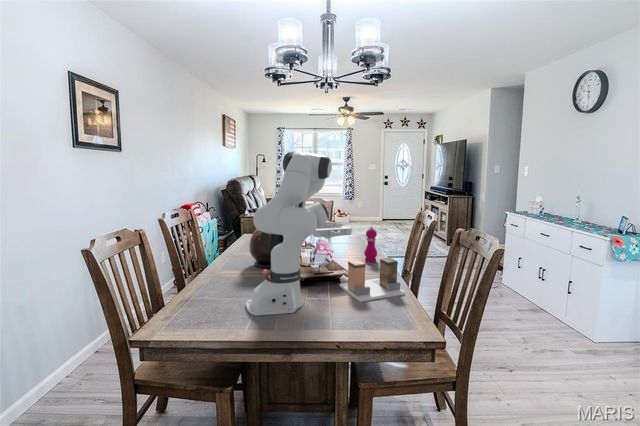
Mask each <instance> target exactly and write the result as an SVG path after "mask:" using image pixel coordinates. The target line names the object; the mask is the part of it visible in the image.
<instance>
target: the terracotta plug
mask: <svg viewBox="0 0 640 426" xmlns="http://www.w3.org/2000/svg"><path fill="white" fill-rule="evenodd" d="M347 266H348V268H347V279H348V280H347V283H348V288H349V289H350V290H352V291H353V292H356V288H360V287H365V280H366V263H365V262H363V261H361V260H360V259H357V260H356V259H355V260H348V261H347Z"/></svg>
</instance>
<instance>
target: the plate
mask: <svg viewBox="0 0 640 426" xmlns="http://www.w3.org/2000/svg"><path fill="white" fill-rule="evenodd" d="M379 284H380V277H379V278H373V279H372V278H371V279H365V287H360V288H356V292H353V291H352V290H350V289H349V288H348V282H342V283H339V287H340V289H342V290H343V291H345V292H346V293H347V294H349V295H350V296H352V297H353V298H354V299H355V300H357V301H358V302H359V303H360V302H366V301H367V302H368V301H373V300H379V299H385V298H391V297H398V296H403V295H406V291H405V290H403V289H401V282H400V281H397V282H394V283H387V287H386V288H384V287H383V286H381V285H379Z"/></svg>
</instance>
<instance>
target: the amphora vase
mask: <svg viewBox="0 0 640 426" xmlns="http://www.w3.org/2000/svg"><path fill="white" fill-rule="evenodd" d="M283 239H284V236H283V235H278V234H268V233H264V232H261V231H259V230H257V229H256V228H255V230H254V231H253V233H252V234H251V236H250V240H249V244H248V247H249V253H250V255H251V257H252V258H253V259H254V260H255V261H254V266H255V267H256V268H258V269H261V270H262V269H263V270H265V269H266V270H270V269H271V251H272V249H273V248H274V247H275V246H276V245H278V244H280V243H283Z"/></svg>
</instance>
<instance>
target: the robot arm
mask: <svg viewBox="0 0 640 426" xmlns="http://www.w3.org/2000/svg"><path fill="white" fill-rule="evenodd" d="M282 169H283V172H284V174H283V177H282V180H281V183H280V185H279V188H278V191H277V192H276V193H275V194H274V195H273V196H272V198H271V199H270V200H269V201H268V202H266V203H265V204H264V205H262V206H259V207H258V208H257V209H256V210H255V212H254V214H253V218H252V221H253V226H254V228H255V230H256V229H257V230H259V231H261V232H264V233H268V234H278V235H283V236H284V239H283V243H280V244H278V245H276V246H275V247H274V248H273V249H272V251H271V269H263V271H262V273H263V275H264V276H265V279H264V280H263V281H262V282H261V283H260V284H258V285H257V286H256V287H254V289H253V291H252V294H251V299H248V300H246V303H245V308H246V310H247V312H248V313H249V314H250V315H252V316H257V317H258V316H269V315H280V314H281V315H282V314H283V315H285V314H293V313H296V311H297V310H298V309H300V308H302V306H303V305H304V300H303V296H302V291H301V280H302V279H301V278H302V273H301V268H300V254H301V249H302V247H303V244H304V242H305V241H306V240H307V239H308V237H310V236H311V235H312V236H314V237H315V238H324V239H331V238H334V237H341V236H352V233H353V231H352V227H350V226H348V225H346V224H344V223H342V222H333V221H329V219H330V215H329V214H330V213H329V210H328V207H327V206H326V205H325V204H324V203H322V202H320V201H317V202H314V203H312V204H309V205H307V206H306V203H307V201H308V200H309V199H310V198H311V197H312V196H314V195H316V194H317V193H319V192H320V191H321V190H322V189H323V188H324V185H325V181H326V179H327V178H329V177H330V175H331V173H332V169H333V164H332V160H331V158H329V156H327V155H321V154H316V153H311V152H305V151H304V152H302V151H288V152H287V153H286V154H284V156H283V160H282Z"/></svg>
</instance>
